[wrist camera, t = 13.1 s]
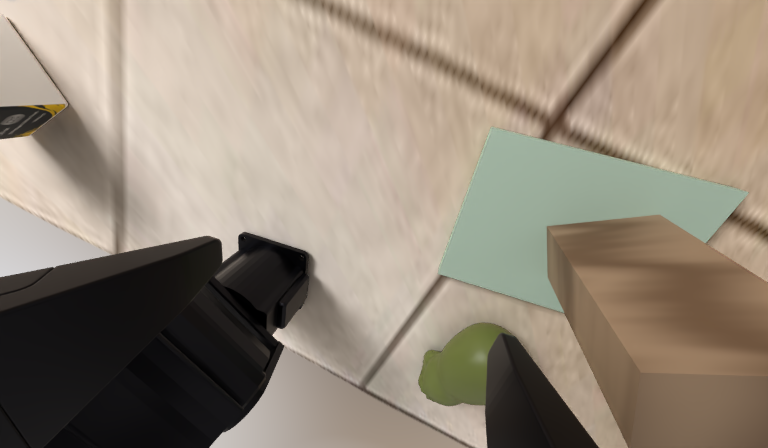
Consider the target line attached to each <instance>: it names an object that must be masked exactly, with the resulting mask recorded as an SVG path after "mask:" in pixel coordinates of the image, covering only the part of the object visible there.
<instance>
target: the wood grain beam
mask: <svg viewBox="0 0 768 448" xmlns="http://www.w3.org/2000/svg"><path fill="white" fill-rule="evenodd" d="M547 272H548V279H549V281H550V283H551V286H552V288H553V290H554V292H555V294H556V296H557V298H558V300H559V302H560V305H561V307H562V309H563V311H564V313H565V315H566V317H567V319H568V321H569V323H570V326H571V328H572V330H573V332H574V334H575V336H576V338H577V340H578V342H579V345H580V347H581V349H582V351H583V353H584V355H585V357H586V359H587V361H588V363H589V366H590V368H591V370H592V372H593V374H594V376H595V378H596V380H597V382H598V385H599V387H600V389H601V391H602V393H603V395H604V397H605V399H606V401H607V403H608V406H609V408H610V410H611V412H612V414H613V416H614V418H615V420H616V422H617V425H618V427H619V429H620V431H621V433H622V435H623V437H624V439H625V441H626V443H627V446H628V448H768V282H766V281H764V280H763V279H761V278H760V277H758V276H757V275H755V274H753V273H752V272H750V271H749V270H747V269H745V268H744V267H742V266H741V265H739V264H737V263H736V262H734V261H733V260H731V259H730V258H728V257H726V256H725V255H723V254H722V253H720V252H718V251H717V250H715V249H714V248H712V247H710V246H709V245H707V244H706V243H704V242H703V241H701V240H699V239H698V238H696V237H695V236H693V235H691V234H690V233H688V232H687V231H685V230H683V229H682V228H680V227H679V226H677V225H676V224H674V223H672V222H671V221H669V220H668V219H666V218H664V217H663V216H661V215H650V216H641V217H631V218H621V219H611V220H602V221H592V222H582V223H572V224H563V225H553V226H547Z"/></svg>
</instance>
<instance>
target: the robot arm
mask: <svg viewBox="0 0 768 448" xmlns="http://www.w3.org/2000/svg"><path fill="white" fill-rule="evenodd" d="M244 237H245V238H246V239H245V238H244ZM238 244H239V251H237V252H236V253H235V254H233V255H232V256H231V257H229V258H228V259H227V260H225V261H224V262H223V263H222V261H223V258H222V243H221V241H220V240H219V239H217V238H214V237H211V236H203V237H198V238H193V239H188V240H183V241H178V242H174V243H169V244H164V245H159V246H154V247H149V248H144V249H139V250H134V251H129V252H124V253H119V254H115V255H110V256H105V257H100V258H95V259H90V260H85V261H80V262H76V263H70V264H66V265H60V266H56V267H55V268H53V267H51V268H46V269H41V270H36V271H31V272H26V273H20V274H15V275H10V276H5V277H0V448H209V447H210V446H211V445H212V443H213V442H214V441H215V440H216V439H217V438H218V437H219V436H220V434H221V433H222V432H226V431H228V430H230V429H231V428H233V427H234V426H235V425H237V424H238V423H239V422H240V421H241V420H242V419H243V418H244V417H245V416H246V415H247V414H248V413H249V412H250V410H251V409H252V408H253V407H254V406H255V404H256V403H257V402H258V401H259V399H260V398H261V396H262V394H263V393H264V391H265V389H266V387H267V385H268V383H269V380H270V378H271V376H272V373H273V371H274V369H275V367H276V364H277V362H278V360H279V357H280V355H281V353H282V350H283V348H284V345H283V344H282V343H281V342H280V341H277V340H276V339H275V338H274V337H273V336H272V335H273V334H274V332H275V331H276V330H277V328H280V329H283V328H285V327H286V326H287V324H288V323H289V321H290V320H291V319H292V317H293V316H294V314H295V313H296V312H297V310H298V309H301V308H302V306H303V304H304V300H305V299H306V298H307V291H308V282H309V276H308V274H307V269H308V260H309V255H308V253H307V252H305V251H303V250H300V249H297V248H294V247H291V246H288V245H284V244H281V243H278V242H275V241H272V240H269V239H266V238H263V237H259V236H256V235H253V234H250V233H247V232H243V233H241V234H240V235H239V237H238ZM301 255H302V256H303V257H304V258H303V257H301ZM485 417H486V433H487V448H599V447H598V446H597V445H596V443H595V442H594V441H593V439H592V438H591V437H590V435H589V434H588V433H587V431H586V430H585V429H584V427H583V426H582V425H581V423H580V422H579V421H578V419H577V418H576V417H575V415H574V414H573V413H572V411H571V410H570V409H569V407H568V406H567V405H566V403H565V402H564V401H563V399H562V398H561V397H560V395H559V394H558V393H557V391H556V390H555V389H554V387H553V386H552V385H551V383H550V382H549V381H548V379H547V378H546V377H545V375H544V374H543V373H542V371H541V370H540V369H539V367H538V366H537V365H536V363H535V362H534V361H533V359H532V358H531V357H530V355H529V354H528V353H527V351H526V350H525V349H524V347H523V346H522V345H521V343H520V342H519V341H518V339H517V338H516V337H514V336H512V335H509V334H506V333H500V334H499V335H498V336H497V338H496V340H495V341H494V343H493V345H492V347H491V348H490V350H489V353H488V357H487V378H486V401H485Z"/></svg>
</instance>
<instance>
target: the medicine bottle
mask: <svg viewBox="0 0 768 448" xmlns="http://www.w3.org/2000/svg"><path fill="white" fill-rule="evenodd" d="M67 106H68V103H67V101H66V100H65V98H64V97H63V96H62V94H61V93H60V91H59V90H58V89H57V87H56V86H55V84H54V83H53V82H52V80H51V79H50V77H49V76H48V75H47V73H46V72H45V71H44V69H43V68H42V66H41V65H40V64H39V62H38V61H37V59H36V58H35V57H34V55H33V54H32V52H31V51H30V50H29V48H28V47H27V45H26V44H25V43H24V41H23V40H22V39H21V37H20V36H19V34H18V33H17V32H16V30H15V29H14V27H13V26H12V25H11V23H10V22H9V20H8V19H7V18H6V17H5V16H4V15H2V14H0V139H6V138H15V137H24V136H30V135H31V134H33V133H34V132H35V131H37V130H38V129H39V128H40V127H42V126H43V125H44V124H46V123H47V122H48V121H49V120H51V119H52V118H53V117H55V116H56V115H57V114H58V113H60V112H61V111H62V110H64V109H65V108H66V107H67Z"/></svg>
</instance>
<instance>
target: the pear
mask: <svg viewBox="0 0 768 448" xmlns="http://www.w3.org/2000/svg"><path fill="white" fill-rule="evenodd" d="M500 333H506V334H509V335H512V334H511V333H509V332H508V331H507V330H505V329H504V328H502V327H500V326H498V325H495V324H491V323H477V324H474V325H471V326H469V327H467V328H465V329H464V330H462V331H461V332H460V333H458V334H457V335H456V336H455V337H453V338H452V339H451V340H450V341H449V342H448V344H447V345H446V346H445V347H444V349H443V351H442V352H439V351H435V350H429V351H427V352H426V353H425V355H424V360H423V366H422V371H421V374H420V377H419V380H418V383H419V386H420V388H421V391H422V392H423V393H424V394H426V397H427V399H430V400H432V401H433V402H437V403H439V404H442V405H445V406H455V405H458V404H461V403H466V404H470V405H485V401H486V378H487V357H488V353H489V350H490V348H491V347H492V345H493V343H494V341H495V340H496V338H497V336H498V335H499V334H500ZM512 336H513V335H512Z"/></svg>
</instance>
